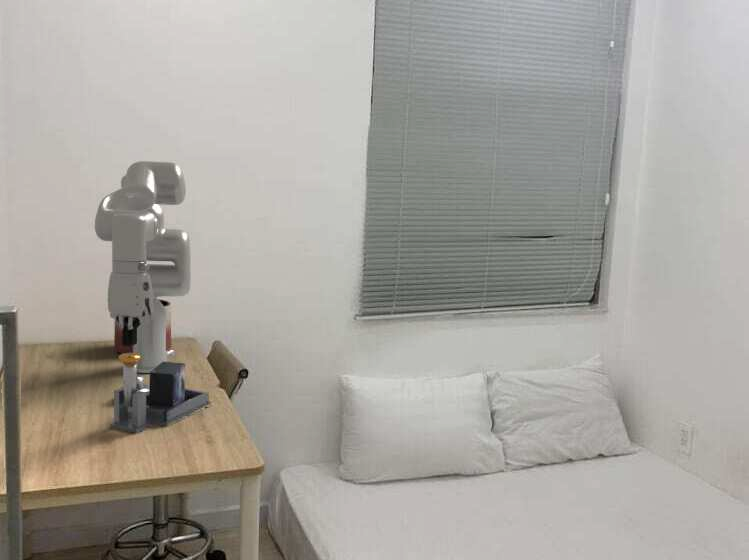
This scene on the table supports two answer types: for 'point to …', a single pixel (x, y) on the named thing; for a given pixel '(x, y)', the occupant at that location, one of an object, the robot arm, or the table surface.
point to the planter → (129, 349)
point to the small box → (167, 385)
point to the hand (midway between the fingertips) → (129, 344)
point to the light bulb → (129, 376)
